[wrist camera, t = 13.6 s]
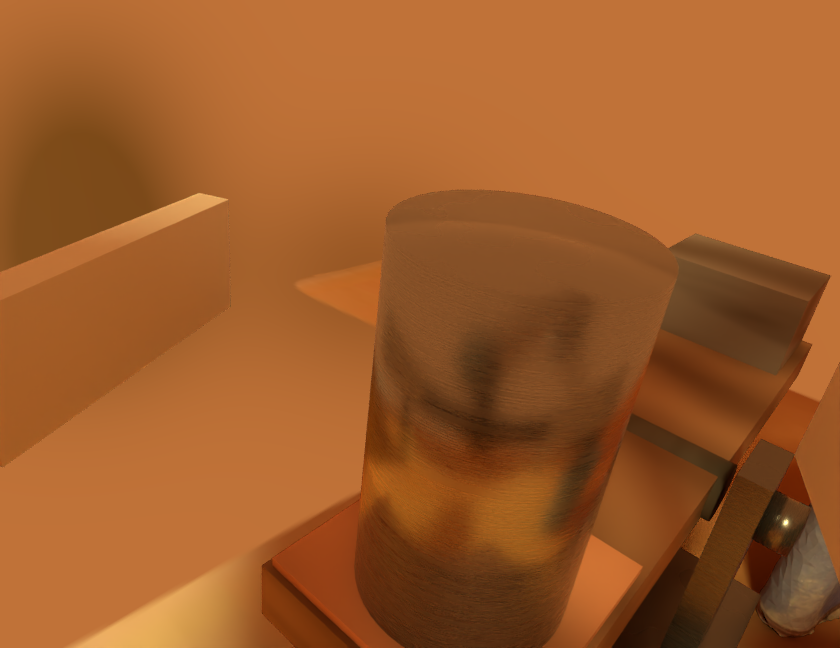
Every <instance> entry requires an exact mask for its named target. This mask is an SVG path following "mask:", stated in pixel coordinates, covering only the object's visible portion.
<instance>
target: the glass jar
mask: <svg viewBox="0 0 840 648" xmlns="http://www.w3.org/2000/svg"><path fill="white" fill-rule="evenodd" d="M678 270H679V266H678V263H677V260H676V258H675V257H674V255H673V254H672V252H671V251H670V250H669V249H668V248H667V247H666V246H665V245H664V244H662V243H661V242H660V241H659V240H657V239H656V238H655V237H653V236H651V235H650V234H648V233H647V232H645V231H643V230H641V229H640V228H638V227H636V226H634V225H632V224H630V223H627V222H625V221H623V220H621V219H618V218H616V217H613V216H611V215H608V214H605V213H602V212H600V211H597V210H593V209H590V208H587V207H584V206H580V205H576V204H573V203H569V202H565V201H560V200H556V199H552V198H546V197H541V196H536V195H529V194H522V193H515V192H505V191H491V190H451V191H440V192H432V193H427V194H422V195H418V196H415V197H412V198H409V199H407V200H404V201H402V202H400V203H399V204H397V205H396V206H394V207H393V208H392V209H391V210H390V211H389V213H388V216H387V217H386V226H385V238H384V248H383V259H382V269H381V280H380V291H379V302H378V313H377V324H376V335H375V345H374V357H373V367H372V378H371V389H370V400H369V410H368V421H367V432H366V443H365V454H364V465H363V476H362V486H361V497H360V508H359V519H358V530H357V541H356V552H355V563H354V571H355V580H356V584H357V589H358V592H359V594H360V597H361V599H362V602H363V604H364V606H365V607H366V609H367V611H368V612H369V614H370V616H371V617H372V618H373V619H374V621H375V622H376V623H377V624H378V626H379V627H380V628H381V629H382V630H383V631H384V632H385V633H386V634H387V635H388V636H389V637H391V638H392V639H393V640H395V641H396V642H397V643H399V644H400V645H401V646H403V647H404V648H541V647H543V646H544V645H545V644H546V643H547V642H548V641H549V640H550V638H551V637H552V636H553V635H554V633H555V632H556V630H557V629H558V627H559V626H560V623H561V621H562V618H563V616H564V613H565V610H566V607H567V604H568V601H569V598H570V596H571V593H572V590H573V587H574V584H575V581H576V578H577V575H578V572H579V569H580V566H581V563H582V560H583V557H584V554H585V551H586V548H587V545H588V542H589V539H590V536H591V533H592V530H593V527H594V524H595V521H596V518H597V515H598V512H599V509H600V506H601V503H602V500H603V497H604V494H605V491H606V488H607V485H608V482H609V479H610V476H611V473H612V470H613V467H614V464H615V461H616V458H617V455H618V452H619V449H620V446H621V443H622V440H623V437H624V434H625V431H626V428H627V425H628V422H629V419H630V416H631V413H632V410H633V407H634V404H635V401H636V398H637V395H638V393H639V390H640V387H641V384H642V381H643V378H644V375H645V372H646V369H647V366H648V363H649V360H650V357H651V354H652V351H653V348H654V345H655V342H656V339H657V336H658V333H659V330H660V327H661V324H662V321H663V318H664V315H665V312H666V309H667V306H668V303H669V300H670V297H671V294H672V291H673V288H674V285H675V282H676V279H677V276H678Z"/></svg>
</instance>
